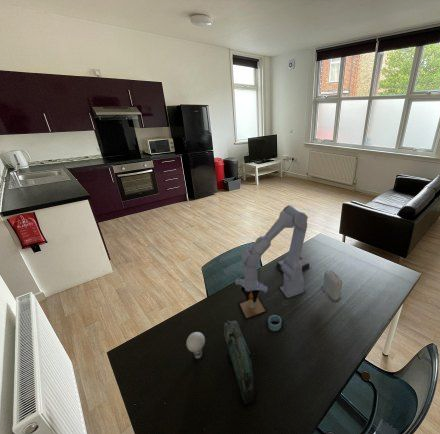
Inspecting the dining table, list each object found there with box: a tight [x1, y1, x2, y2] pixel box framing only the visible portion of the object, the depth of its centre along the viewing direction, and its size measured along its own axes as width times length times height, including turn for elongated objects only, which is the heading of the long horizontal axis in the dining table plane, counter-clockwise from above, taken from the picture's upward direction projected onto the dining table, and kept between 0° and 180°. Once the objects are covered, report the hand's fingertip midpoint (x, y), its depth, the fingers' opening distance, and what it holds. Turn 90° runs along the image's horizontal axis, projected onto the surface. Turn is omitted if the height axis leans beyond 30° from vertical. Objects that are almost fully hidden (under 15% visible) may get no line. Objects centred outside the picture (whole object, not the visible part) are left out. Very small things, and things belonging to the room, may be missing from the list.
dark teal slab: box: [223, 319, 255, 405], centre depth 77 cm, size 20×6×20 cm, turn 23°
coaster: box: [239, 297, 266, 319], centre depth 108 cm, size 9×9×1 cm
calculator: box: [276, 256, 310, 274], centre depth 133 cm, size 11×4×15 cm
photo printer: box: [322, 268, 343, 301], centre depth 114 cm, size 10×4×12 cm, turn 23°
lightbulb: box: [185, 331, 206, 360], centre depth 85 cm, size 6×6×11 cm
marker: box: [248, 292, 255, 308], centre depth 106 cm, size 3×3×6 cm
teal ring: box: [267, 314, 283, 332], centre depth 99 cm, size 5×6×3 cm
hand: (251, 299), depth 106 cm, fingers closed on marker, 3 cm apart
